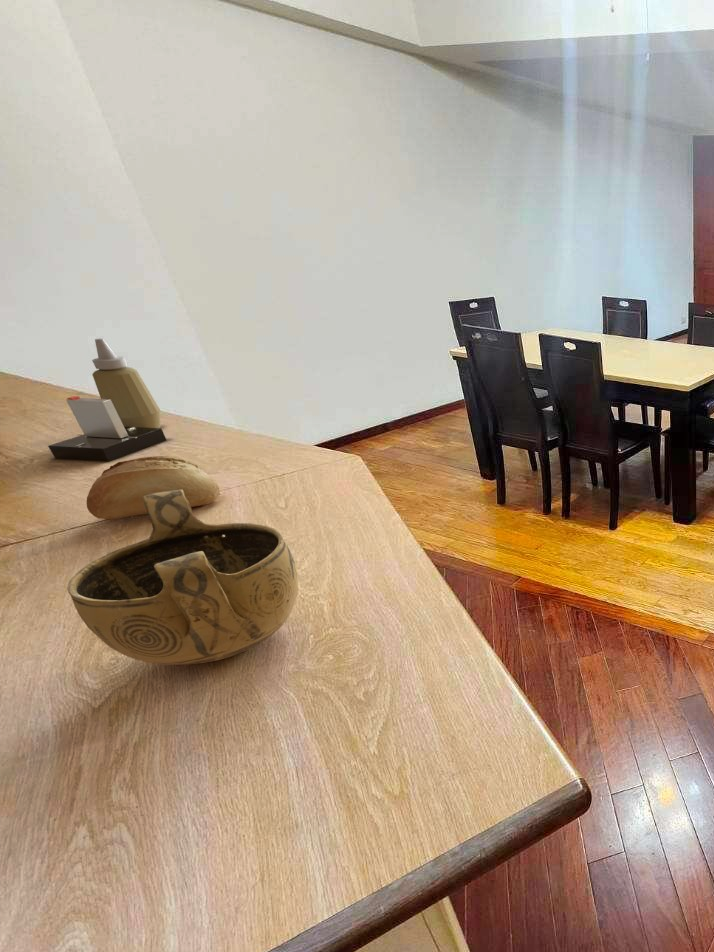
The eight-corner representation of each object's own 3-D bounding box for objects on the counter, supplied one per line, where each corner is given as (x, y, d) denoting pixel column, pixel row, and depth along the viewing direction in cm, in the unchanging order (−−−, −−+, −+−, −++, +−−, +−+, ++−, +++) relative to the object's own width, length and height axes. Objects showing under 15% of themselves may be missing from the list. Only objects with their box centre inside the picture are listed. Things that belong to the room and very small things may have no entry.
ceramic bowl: (340, 659, 63) (293, 536, 56) (124, 740, 53) (31, 602, 45) (294, 576, 77) (252, 468, 69) (116, 626, 66) (44, 506, 59)
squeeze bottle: (158, 421, 127) (118, 334, 118) (174, 428, 123) (134, 339, 114) (108, 430, 121) (62, 339, 112) (124, 438, 117) (78, 344, 108)
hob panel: (112, 461, 107) (105, 447, 106) (51, 458, 107) (43, 444, 106) (169, 440, 117) (164, 427, 116) (114, 437, 117) (108, 424, 116)
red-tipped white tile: (128, 436, 112) (110, 398, 108) (120, 438, 110) (101, 400, 107) (93, 433, 112) (73, 395, 108) (85, 436, 110) (64, 398, 107)
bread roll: (97, 511, 90) (69, 462, 86) (220, 488, 99) (200, 442, 95) (95, 534, 84) (65, 482, 80) (226, 507, 93) (206, 460, 89)
